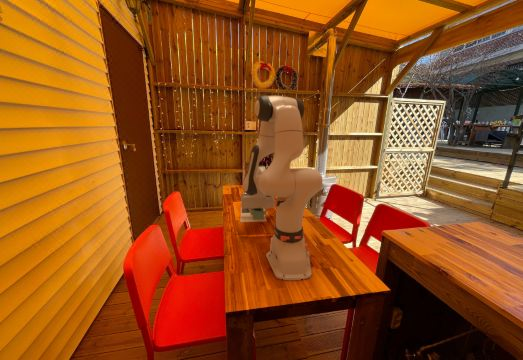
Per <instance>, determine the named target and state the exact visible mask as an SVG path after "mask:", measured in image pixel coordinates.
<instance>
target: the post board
mask: <svg viewBox="0 0 523 360" xmlns="http://www.w3.org/2000/svg"><path fill="white" fill-rule="evenodd" d="M240 207H241V206H240ZM263 209H264V210H265V208H263ZM251 211H253V208H251ZM246 222H247V223H252V222H253V223H254V222H255V223H259V222H262V223H263V222H267V217H266V215H264V219H255V220H253V215H250V211H249V208H244V209H243V208H242V207H241V208H240V223H246Z"/></svg>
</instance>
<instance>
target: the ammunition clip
mask: <svg viewBox="0 0 523 360" xmlns="http://www.w3.org/2000/svg"><path fill="white" fill-rule="evenodd" d="M288 198H289V196H282V197H276V207H278V206H279V205H280V204H281V203H283V202H285V201H286V200H287V199H288Z"/></svg>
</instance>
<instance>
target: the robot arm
mask: <svg viewBox="0 0 523 360" xmlns="http://www.w3.org/2000/svg"><path fill="white" fill-rule="evenodd" d="M254 114H255V117H256V119H257V120H259V121H261V122H260V126H259V134H258V135H259V136H258V139H257V142H256V143H255V145H253V146H252V148H251V151H250V153H249V157H248V158H249V159H248V163H247V166H246V172H245V175H244V178H243V181H242V190H243V192H242V193H241V194H240V200H241V201H240V207H242V208H243V209H244V208H249V211H250V215H253V211H251V208H264V215H265V216H266V215H267V211H269V209H274V208H275V207H276V200H275V198H277V197H279V198H280V197H282V196H284V197H285V196H289V198H288V199H287V200H286V201H285V202H283V203H281V204H280V205H279V206H277V208H276V211H275V225H274V228H273V230H274V235H272V237H271V238H270V246H269V247H270V248H269V251H268V252H267V253H266V254H265V256H266V259H267V261H268V263H269V265H270V267H271V269H272V272H273V274H274V277H275V278H277V279H279V280H282V279H283V280H284V281H302V280H301V279H303V280H306V279H309V278H311V277H312V275H313V273H312V272H313V271H312V266H311V259H310V257H311V254H310V253H311V252H310V251H309V250H307V249H306V248H307V247H308V243H305V241H306V240H305V236H304V227H303V222H304V221H303V219H304V212H305V209H306V207H307V205H308V203H309V202H310V200H311V199H312V198H313V197H314V196H315V195H316V194H317V193H319V192H320V191H321V189H322V187H323V182H324V180H323V177H322V174H321V173H320V172H319V170H317V169H313V168H309V167H308V168H307V167H301V168H300V167H298V168H297V167H296V168H291V163H292V162H293V161H295V160H296V159H297V158H299V157H300V156H302V155H303V152H304V134H303V122H302V119H303V117H304V115H305V105H304V102H303V101H302V100H301V99H299V98H296V97H293V98H292V97H288V96H282V95H267V94H266V95H265V94H264V95H260V96H258V97H257V99H256V100H255V104H254ZM271 154H274V155H273V159H272V161H271V162H270V164H269V166H268V167H267V168H266V166H265V165H260V163H261V161H262V160H263V159H264V158H266V157H268V156H270V155H271Z"/></svg>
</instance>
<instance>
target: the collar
mask: <svg viewBox="0 0 523 360" xmlns="http://www.w3.org/2000/svg"><path fill="white" fill-rule="evenodd" d="M264 211H265V208H264V209H263V208H253V220H255V219H264Z"/></svg>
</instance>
